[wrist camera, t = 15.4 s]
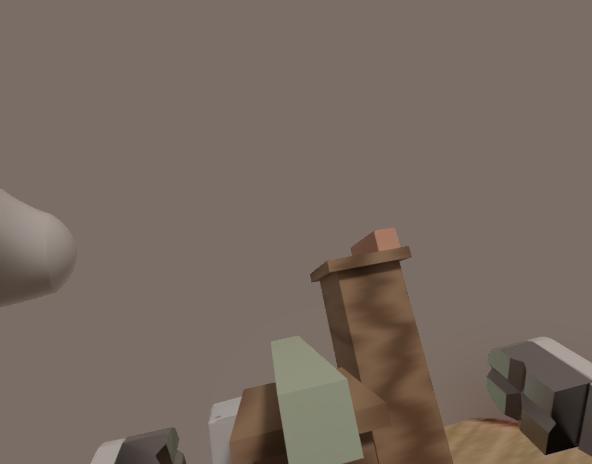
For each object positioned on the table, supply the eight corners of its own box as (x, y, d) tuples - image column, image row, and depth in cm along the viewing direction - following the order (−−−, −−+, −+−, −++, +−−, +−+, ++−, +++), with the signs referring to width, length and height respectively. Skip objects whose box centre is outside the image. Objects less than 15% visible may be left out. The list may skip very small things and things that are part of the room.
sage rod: (291, 478, 12) (277, 395, 13) (275, 371, 32) (270, 341, 33) (363, 457, 12) (347, 378, 13) (303, 364, 33) (298, 335, 33)
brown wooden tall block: (392, 562, 26) (327, 260, 32) (351, 479, 39) (310, 274, 44) (487, 531, 27) (408, 245, 33) (417, 460, 40) (369, 263, 45)
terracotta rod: (379, 252, 34) (373, 231, 34) (354, 265, 44) (350, 247, 44) (400, 248, 34) (394, 227, 35) (371, 261, 44) (366, 245, 44)
